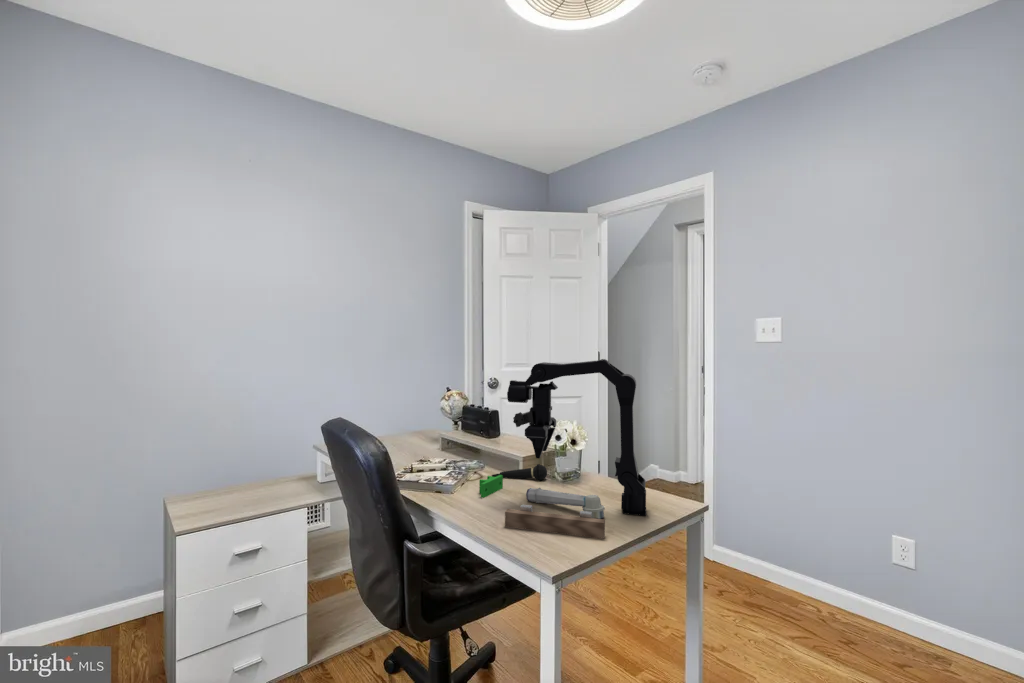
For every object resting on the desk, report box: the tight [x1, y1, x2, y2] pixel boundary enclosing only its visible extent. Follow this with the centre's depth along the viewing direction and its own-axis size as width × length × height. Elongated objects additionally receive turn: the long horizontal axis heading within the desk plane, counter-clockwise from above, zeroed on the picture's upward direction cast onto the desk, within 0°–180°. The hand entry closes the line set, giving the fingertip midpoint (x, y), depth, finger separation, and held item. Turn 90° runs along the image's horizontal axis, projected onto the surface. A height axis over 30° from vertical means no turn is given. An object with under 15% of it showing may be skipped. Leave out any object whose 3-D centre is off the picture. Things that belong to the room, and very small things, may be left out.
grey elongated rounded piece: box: [525, 487, 606, 519], centre depth 142 cm, size 5×7×25 cm
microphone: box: [491, 463, 548, 481], centre depth 172 cm, size 6×6×20 cm
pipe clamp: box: [478, 475, 504, 499], centre depth 157 cm, size 11×4×5 cm, turn 149°
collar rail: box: [504, 504, 606, 540], centre depth 127 cm, size 26×4×5 cm, turn 75°
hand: (541, 454), depth 148 cm, fingers open, 9 cm apart
